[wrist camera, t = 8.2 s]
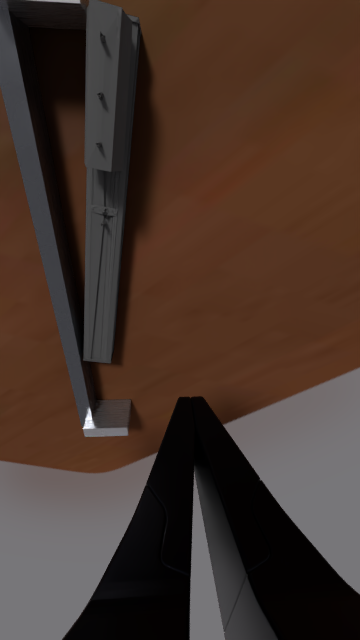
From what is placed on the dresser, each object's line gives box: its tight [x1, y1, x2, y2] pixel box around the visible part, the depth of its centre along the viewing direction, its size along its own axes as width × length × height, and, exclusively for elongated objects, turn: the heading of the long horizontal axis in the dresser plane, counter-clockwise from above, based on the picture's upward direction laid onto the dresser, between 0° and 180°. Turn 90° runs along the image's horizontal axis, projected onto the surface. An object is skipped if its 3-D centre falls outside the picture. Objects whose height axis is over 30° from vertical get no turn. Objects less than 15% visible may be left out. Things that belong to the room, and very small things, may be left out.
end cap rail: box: [0, 0, 131, 437], centre depth 18 cm, size 4×26×3 cm, turn 179°
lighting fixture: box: [83, 0, 141, 363], centre depth 16 cm, size 19×3×4 cm, turn 169°
